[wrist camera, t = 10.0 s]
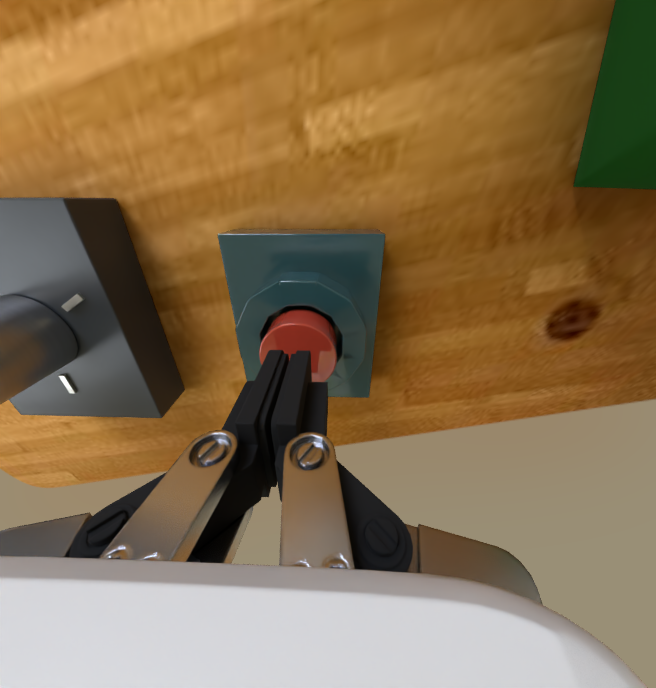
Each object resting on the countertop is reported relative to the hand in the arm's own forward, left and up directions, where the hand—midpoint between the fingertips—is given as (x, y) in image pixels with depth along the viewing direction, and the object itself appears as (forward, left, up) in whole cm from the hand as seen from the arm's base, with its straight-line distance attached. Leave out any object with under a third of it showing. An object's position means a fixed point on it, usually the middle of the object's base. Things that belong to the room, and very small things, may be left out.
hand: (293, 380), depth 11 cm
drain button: (0, 0, -3) cm, 3 cm away
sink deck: (0, -15, -7) cm, 16 cm away
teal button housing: (0, 0, -7) cm, 7 cm away
